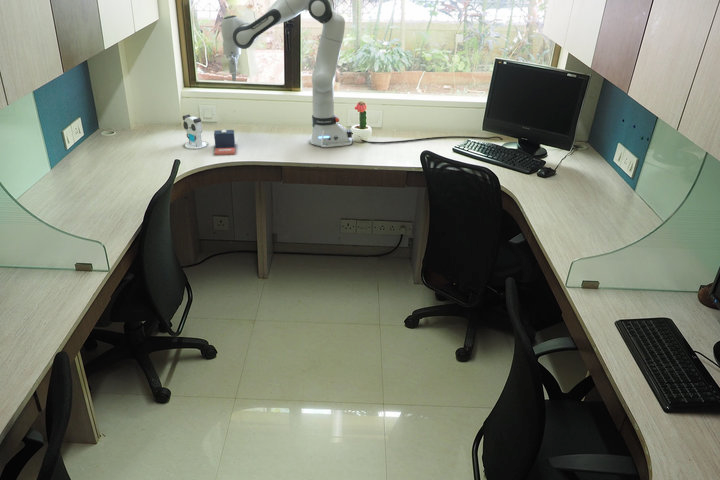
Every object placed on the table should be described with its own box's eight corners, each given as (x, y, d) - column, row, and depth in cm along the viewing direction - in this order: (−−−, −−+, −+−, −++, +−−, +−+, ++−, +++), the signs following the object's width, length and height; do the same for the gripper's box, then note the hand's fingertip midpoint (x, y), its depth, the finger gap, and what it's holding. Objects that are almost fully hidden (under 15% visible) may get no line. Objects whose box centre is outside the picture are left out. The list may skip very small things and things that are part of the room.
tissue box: (235, 144, 326) (233, 128, 322) (235, 148, 321) (233, 132, 317) (216, 145, 325) (214, 129, 321) (215, 149, 320) (213, 132, 316)
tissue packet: (235, 149, 320) (234, 147, 319) (234, 154, 314) (234, 151, 313) (215, 150, 319) (215, 147, 318) (215, 155, 313) (214, 152, 312)
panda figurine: (179, 145, 326) (175, 116, 317) (197, 140, 332) (194, 112, 324) (193, 150, 319) (189, 121, 311) (211, 145, 326) (207, 116, 317)
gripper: (238, 54, 304) (240, 83, 311) (238, 46, 321) (240, 74, 328) (225, 54, 303) (227, 83, 310) (226, 46, 320) (228, 74, 327)
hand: (234, 78), depth 319 cm, fingers open, 8 cm apart
